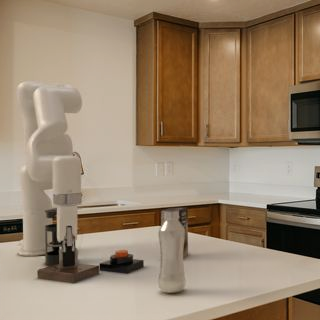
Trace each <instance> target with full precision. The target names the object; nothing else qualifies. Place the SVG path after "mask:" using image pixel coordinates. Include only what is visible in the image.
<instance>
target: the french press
mask: <svg viewBox="0 0 320 320" xmlns="http://www.w3.org/2000/svg"><path fill="white" fill-rule="evenodd" d="M45 212H46V218H52V219H54V218H55V217H57V207H55V208H52V209H49V210H45ZM47 231H48V232H52V242H48V243H47ZM47 246H48V247H52V251H50V252H47ZM74 248H76V241H74ZM59 250H63V241H61V242H58V240H57V223H52V224H50V225H46V226H45V255H44V257H45V259H44V260H45V262H44V265H45V267H49V266H52V265H56V264H59Z"/></svg>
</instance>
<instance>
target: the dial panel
mask: <svg viewBox="0 0 320 320" xmlns="http://www.w3.org/2000/svg"><path fill="white" fill-rule="evenodd" d="M36 273H37V279H38V280H44V281H51V282H52V281H53V282H59V283H60V282H61V283H69V284H76V283H79V282H81V281H85V280H87V279H90V278H92V277H96V276H98V275H100V267H99V264H88V263H79V262H78V267H76V268H66V269H60V268H59V264H56V265H52V266H45V267H43V268H39V269H37V272H36Z"/></svg>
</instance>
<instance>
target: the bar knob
mask: <svg viewBox="0 0 320 320" xmlns="http://www.w3.org/2000/svg"><path fill="white" fill-rule="evenodd" d="M74 251H75V266H68V267H63V255H62V252H63V250H62V249H60V250H59V268H60V269H66V268H76V267H78V263H79V249H78V248H77V247H75V248H74Z"/></svg>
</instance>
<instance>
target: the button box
mask: <svg viewBox="0 0 320 320" xmlns="http://www.w3.org/2000/svg"><path fill="white" fill-rule="evenodd" d="M144 265H145V260H144V259H134V254H133V253H128V256H127V257H115V254H112V255H110V256H109V260H106V261H105V260H104V261H102V262H100V263H99V264H98V266H99V272H107V273H117V274H125V275H128V274H130V273H133V272H136V271H138V270H141V269H143V268H145V266H144Z"/></svg>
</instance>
